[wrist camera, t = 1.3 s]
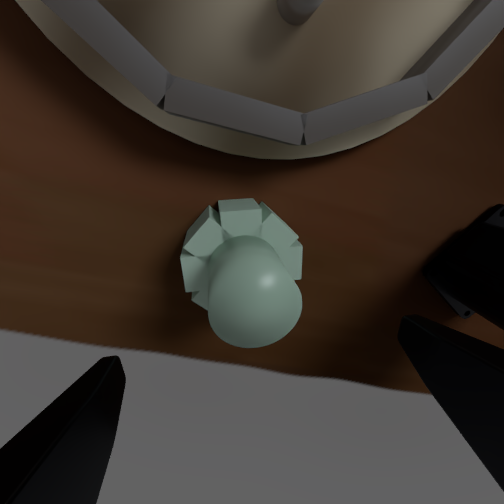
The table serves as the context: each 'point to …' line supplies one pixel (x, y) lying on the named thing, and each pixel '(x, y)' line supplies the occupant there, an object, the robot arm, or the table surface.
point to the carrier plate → (272, 64)
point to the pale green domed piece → (244, 272)
